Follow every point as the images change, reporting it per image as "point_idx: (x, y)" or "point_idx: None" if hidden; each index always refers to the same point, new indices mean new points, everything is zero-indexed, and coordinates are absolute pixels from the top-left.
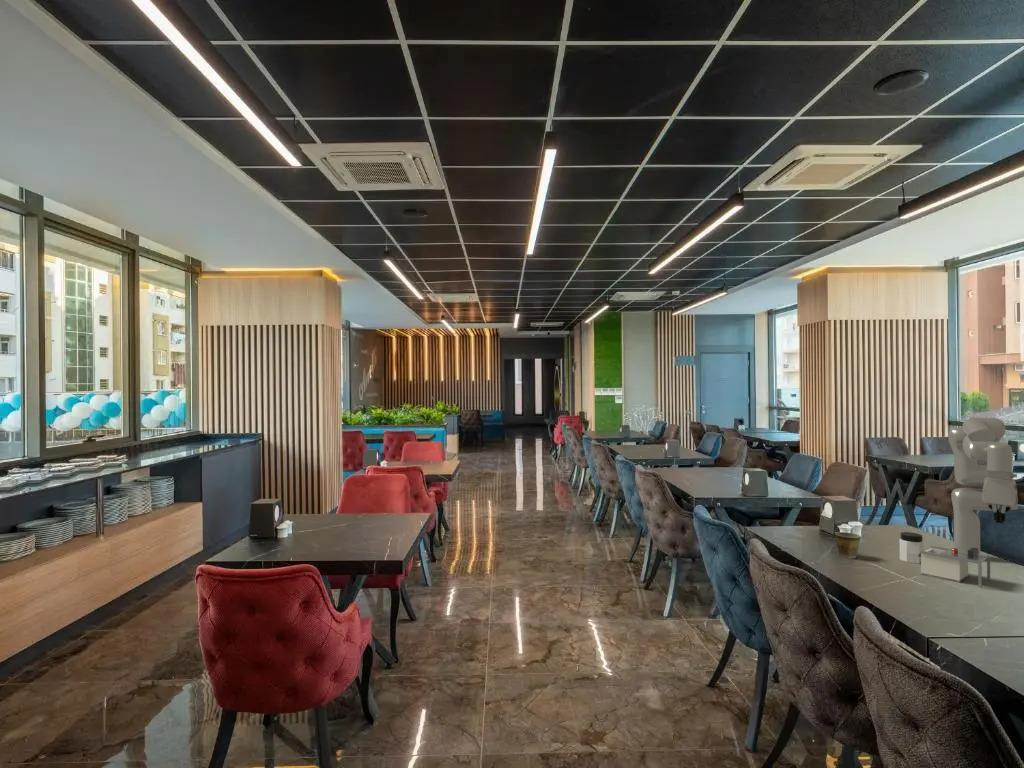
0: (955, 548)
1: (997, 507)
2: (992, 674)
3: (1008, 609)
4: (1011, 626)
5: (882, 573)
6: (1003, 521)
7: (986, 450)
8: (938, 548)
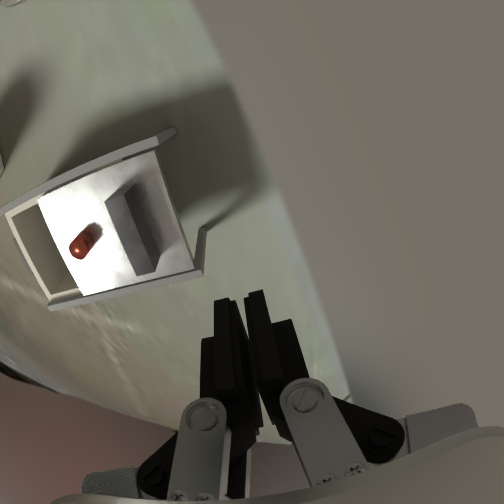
0: (75, 243)
1: (227, 460)
2: None
3: (316, 325)
4: (340, 378)
5: (61, 326)
6: (264, 298)
7: None
8: (17, 206)
